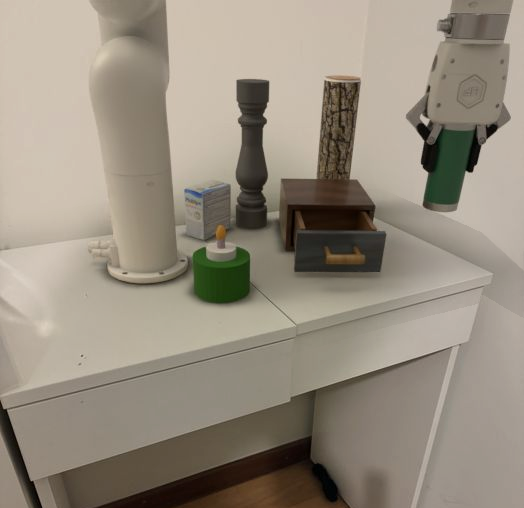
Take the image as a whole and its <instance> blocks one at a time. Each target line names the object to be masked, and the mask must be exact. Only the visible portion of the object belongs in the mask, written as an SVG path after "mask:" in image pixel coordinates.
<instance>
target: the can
mask: <svg viewBox="0 0 524 508" xmlns="http://www.w3.org/2000/svg"><path fill="white" fill-rule="evenodd" d="M475 127H476V125H470V124H466V123H462V124H456V125H453V124H444V125H443V127H442V129H441V131H440V133H439V135H438V137H437V139H436V144H437V145H438V150H437V155H436V160H435V165H434V170H433V172H431V173H428V172H427V177H426V182H425V186H424V187H425V188H424V194H423V200H422V207H423V208H424V209H426V210H427V211H431V212H435V213H436V212H437V213H453V212H455V211H457V210H458V207H459V202H460V199H461V195H462V191H463V185H464V181H465V177H466V172H467V171H466V168H467V164H468V159H469V155H470V151H471V146H472V142H473V137H474V133H475Z"/></svg>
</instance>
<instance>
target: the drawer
mask: <svg viewBox="0 0 524 508" xmlns="http://www.w3.org/2000/svg"><path fill="white" fill-rule="evenodd" d="M387 236H388V235H387V232H386V230H378V228H377V227H376V225H375V224H374V221H373V222H372V220H371V219H370V217H369V216H368V214H367V213H366V211H365V210H300V209H293V219H292V240H293V244H294V248H295V251H294V262H293V272H295V273H381V271H382V266H383V265H382V264H383V259H384V252H385V246H386V240H387Z"/></svg>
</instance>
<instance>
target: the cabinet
mask: <svg viewBox="0 0 524 508" xmlns="http://www.w3.org/2000/svg"><path fill="white" fill-rule="evenodd" d="M279 187H280V188H279V206H278V207H279V209H278V210H279V211H278V222H279V227H280V232H281V237H282V242H283V247H284V248H283V249H284V251H285V252H295V248H294V244H293V240H292V219H293V209H300V210H365V211H366V213H367V214H368V216H369V217H370V219H371V220H372V222H373V223H374V220H375V219H374V218H375V210H376V204H375V203H374V201H373V200H372V198H371V197H370V196H369V194H368V193H367V191H366V190H365V188H364V187H363V186H362V184H361V183H360V181H359V180H358V179H352V178H350V179H316V178H280V185H279Z"/></svg>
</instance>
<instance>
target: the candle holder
mask: <svg viewBox="0 0 524 508" xmlns="http://www.w3.org/2000/svg"><path fill="white" fill-rule="evenodd" d="M235 82H236V84H235V85H236V88H235V90H236V93H235V95H236V98H235V99H236V103H237V107H238V109H239V112H240V114H241V115H240V116H239V117H238V118H237V124H239V125H240V128H241V144H240V150H239V154H238V155H239V156H238V159H237V164H236V169H235V180H236V182H237V184H238V185H239V186H240V187H239V190H240V191H241V192H239V194H238V196H237V197H236V203H237V204H236V205H235V225H236V226H237V227H238V228H240V229H241V228H242V229H247V230H257V229H263V228H265V227H266V226H267V224H268V205H266V202H267V197H266V196H265V195H264V193H263V191H264V186H265V185H266V183H267V181H268V179H269V172H268V166H267V162H266V155H265V150H264V146H263V145H264V128H265V125H267V123H268V119H267V118H266V117H265V116H264V114H265V112H266V109H267V108H268V103H269V102H270V80H268V79H261V78H260V79H259V78H241V79H240V78H239V79H236V81H235Z"/></svg>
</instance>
